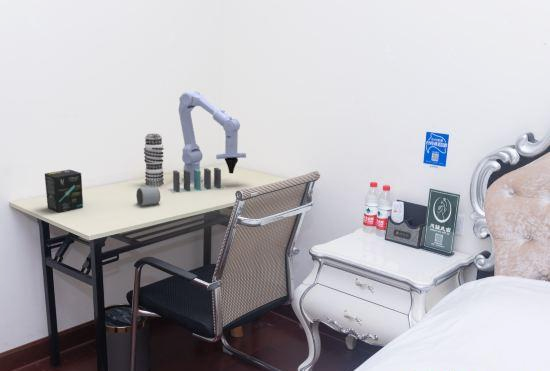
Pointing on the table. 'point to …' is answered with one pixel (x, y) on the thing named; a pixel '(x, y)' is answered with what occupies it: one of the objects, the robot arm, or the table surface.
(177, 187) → the black domino
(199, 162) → the robot arm
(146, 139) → the decorative candle
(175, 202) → the table surface
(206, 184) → the black domino
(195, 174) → the teal domino
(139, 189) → the grey cylinder
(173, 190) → the sage board
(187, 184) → the black domino
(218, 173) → the black domino
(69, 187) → the tampon box
